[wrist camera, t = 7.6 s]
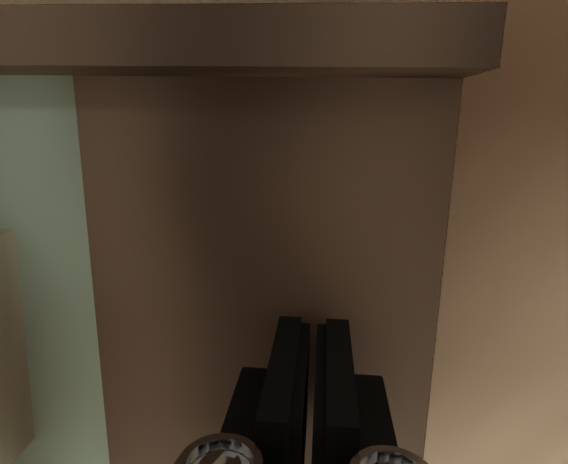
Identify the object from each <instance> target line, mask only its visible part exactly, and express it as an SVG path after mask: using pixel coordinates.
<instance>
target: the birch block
mask: <svg viewBox="0 0 568 464" xmlns="http://www.w3.org/2000/svg"><path fill="white" fill-rule="evenodd" d="M34 438H35V435H34V424H33V413H32V403H31V392H30V381H29V370H28V359H27V349H26V338H25V327H24V316H23V306H22V295H21V284H20V273H19V262H18V252H17V241H16V230H15V229H3V228H0V464H12V463H13V462H14V461H15V460H16V459H17V457H18V456H19V455H20V454H21V453H22V452H23V451H24V450H25V449H26V447H27V446H28V445H29V444H30V443H31V442H32V441H33V440H34Z"/></svg>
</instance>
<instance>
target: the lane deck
mask: <svg viewBox="0 0 568 464" xmlns="http://www.w3.org/2000/svg"><path fill="white" fill-rule="evenodd" d="M506 10H507V2H435V3H237V4H38V5H0V228H3V229H15V230H16V241H17V252H18V262H19V273H20V284H21V295H22V306H23V316H24V327H25V338H26V349H27V359H28V370H29V381H30V392H31V403H32V413H33V424H34V435H35V438H34V440H33V441H32V442H31V443H30V444H29V445H28V446H27V447H26V449H25V450H24V451H23V452H22V453H21V454H20V455H19V456H18V457H17V459H16V460H15V461H14V462H13V463H12V464H174V463H175V461H176V460H177V458H178V457H179V455H180V454H181V452H182V451H183V450H184V449H185V448H186V447H187V446H188V445H189V444H191V443H192V442H194V441H195V440H197V439H199V438H201V437H204V436H207V435H210V434H216V433H220V431H221V428H222V425H223V423H224V420H225V417H226V414H227V411H228V408H229V405H230V402H231V399H232V396H233V393H234V390H235V387H236V384H237V381H238V378H239V375H240V372H241V369H242V367H256V368H267V367H268V363H269V359H270V355H271V350H272V346H273V342H274V338H275V333H276V329H277V325H278V320H279V317H280V316H293V317H302V323H310V345H309V373H308V402H307V429H306V446H305V462H304V464H311V461H312V436H313V411H314V388H315V365H316V342H317V324H326V318H329V319H347V320H349V327H350V336H351V345H352V354H353V364H354V373H355V374H364V375H379V376H382V377H383V380H384V385H385V390H386V394H387V399H388V403H389V408H390V413H391V417H392V422H393V426H394V431H395V436H396V440H397V445H398V447H399V448H403V449H406V450H408V451H410V452H412V453H414V454H416V455H418V456H420V457H421V458H422V459H423V456H424V447H425V437H426V427H427V418H428V408H429V399H430V389H431V380H432V370H433V360H434V351H435V341H436V332H437V322H438V313H439V303H440V293H441V284H442V274H443V265H444V255H445V246H446V236H447V226H448V217H449V207H450V198H451V188H452V179H453V169H454V159H455V150H456V140H457V131H458V121H459V111H460V102H461V92H462V83H463V78H465V77H469V76H472V75H476V74H479V73H483V72H486V71H490V70H493V69H497V68H499V67H500V59H501V50H502V42H503V34H504V26H505V18H506Z"/></svg>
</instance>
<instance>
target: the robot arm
mask: <svg viewBox="0 0 568 464" xmlns="http://www.w3.org/2000/svg"><path fill="white" fill-rule="evenodd" d="M309 345H310V323H302V317H293V316H280V317H279V320H278V325H277V329H276V333H275V338H274V342H273V346H272V350H271V355H270V359H269V363H268V367H267V368H256V367H242V369H241V372H240V375H239V378H238V381H237V384H236V387H235V390H234V393H233V396H232V399H231V402H230V405H229V408H228V411H227V414H226V417H225V420H224V423H223V425H222V428H221V431H220V433H216V434H210V435H207V436H204V437H201V438H199V439H197V440H195V441H194V442H192V443H191V444H189V445H188V446H187V447H186V448H185V449H184V450H183V451H182V452H181V454H180V455H179V457H178V458H177V460H176V461H175V463H174V464H304V462H305V446H306V429H307V402H308V373H309ZM311 464H428V463H427V462H425V461H424V460H423V459H422V458H421V457H420V456H418V455H416V454H414V453H412V452H410V451H408V450H406V449H403V448H399V447H398V445H397V440H396V436H395V431H394V426H393V422H392V417H391V413H390V408H389V403H388V399H387V394H386V390H385V385H384V380H383V377H382V376H379V375H364V374H355V373H354V364H353V354H352V345H351V336H350V327H349V320H347V319H329V318H326V324H317V342H316V365H315V388H314V411H313V436H312V461H311Z"/></svg>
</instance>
